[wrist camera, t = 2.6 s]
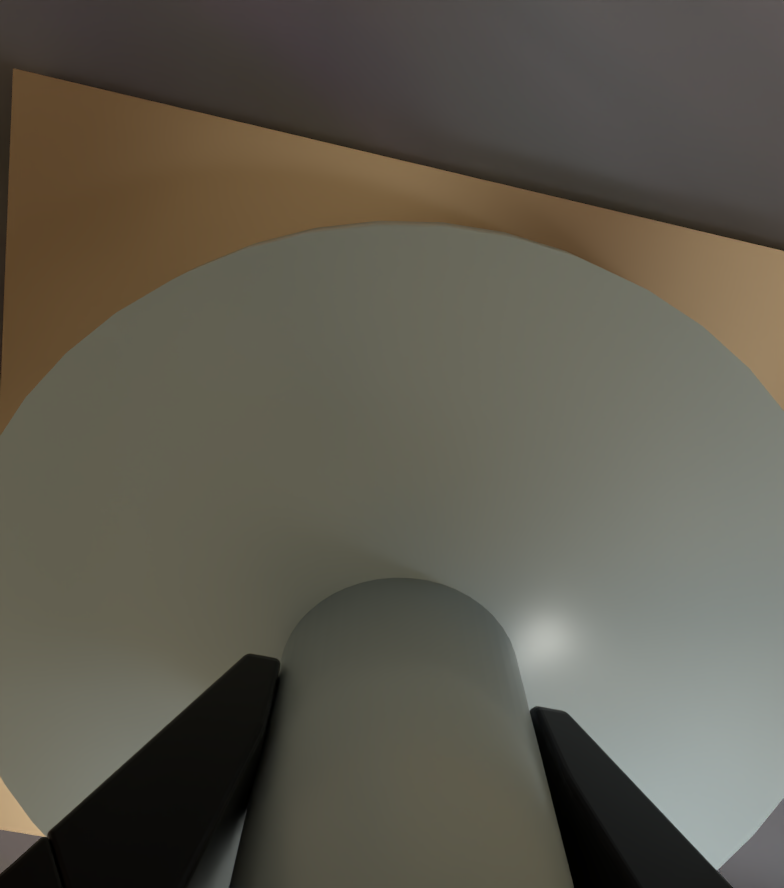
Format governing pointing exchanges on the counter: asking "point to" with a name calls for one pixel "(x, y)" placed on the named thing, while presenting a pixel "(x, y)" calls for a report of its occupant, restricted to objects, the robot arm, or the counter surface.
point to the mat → (287, 229)
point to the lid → (401, 552)
